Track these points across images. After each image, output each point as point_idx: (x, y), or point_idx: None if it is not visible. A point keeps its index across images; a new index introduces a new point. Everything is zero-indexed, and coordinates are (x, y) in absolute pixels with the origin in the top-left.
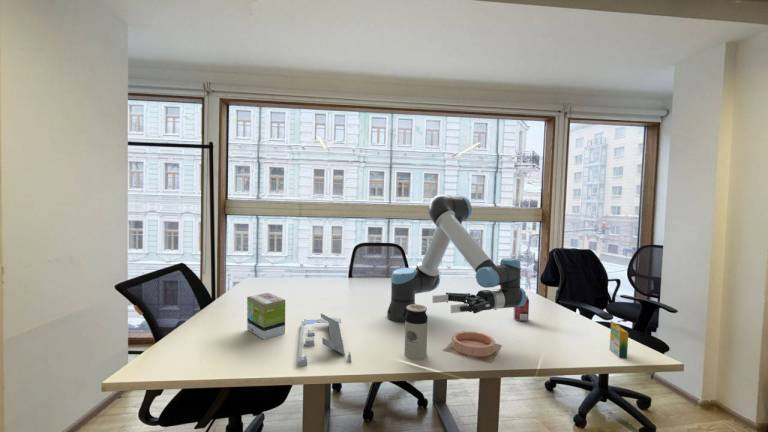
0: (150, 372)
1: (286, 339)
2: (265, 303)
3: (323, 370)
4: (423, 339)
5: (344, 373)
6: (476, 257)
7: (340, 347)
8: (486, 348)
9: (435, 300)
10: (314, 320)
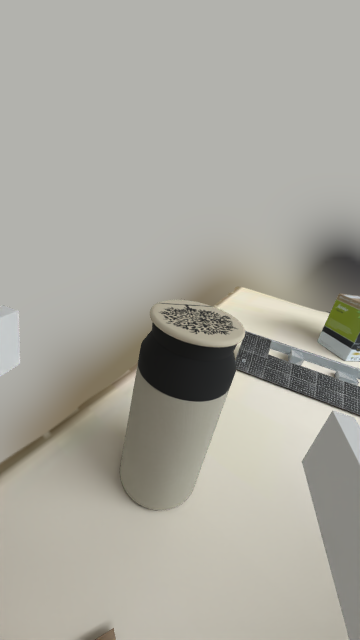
0: (250, 294)
1: (318, 354)
2: (343, 294)
3: None
4: (129, 413)
5: None
6: None
7: (260, 370)
8: None
9: (317, 465)
10: None
